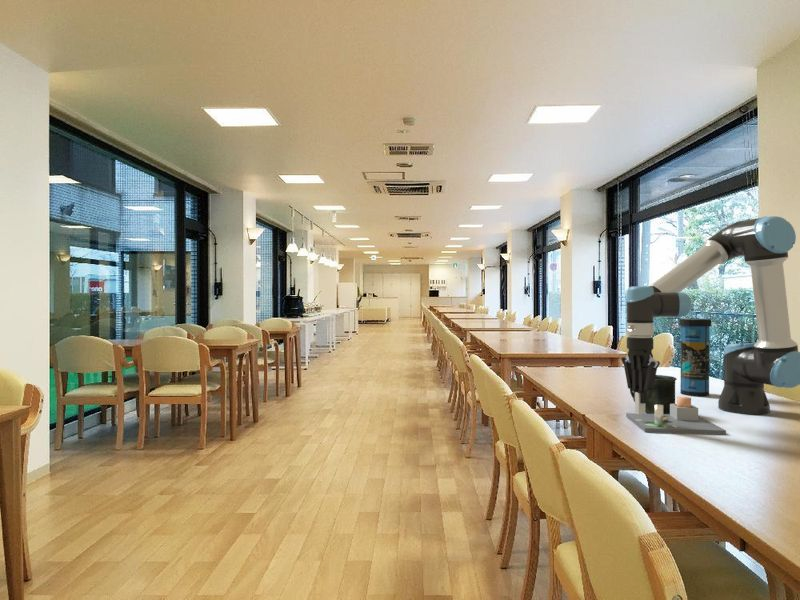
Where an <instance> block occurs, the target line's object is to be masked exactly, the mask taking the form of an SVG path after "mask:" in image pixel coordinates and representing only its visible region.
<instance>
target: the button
mask: <svg viewBox="0 0 800 600" xmlns="http://www.w3.org/2000/svg"><path fill="white" fill-rule="evenodd" d="M676 404H677V407H688V408H691V405H692V397H690V396H689V397H688V396H676Z"/></svg>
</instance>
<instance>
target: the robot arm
mask: <svg viewBox="0 0 800 600" xmlns="http://www.w3.org/2000/svg"><path fill="white" fill-rule="evenodd" d="M796 240H797V235H796V231H795V228H794V227H793V225H792V224H791V223H790V221H788V220H786V218H784V217H781V216H777V215H775V216H773V215H772V216H762V217H758V218H751V219H747V220H745V219H744V220H740V221H735V222H733V223H731V224H729V225H727V226H726V227H724V228H722V229H720V230H719V231H717V233H714V234H713V235H712V236H711V237H709V238H708V239H706V240H705V241H704V242H703V243H702V246H701V248H700V249H698V250H697V251H695V252H694V253H692V254H691V255H689V256H688V257H687V258H686V259H684V260H682V261H681V262H680V263H679V264H678V265H676V266H675V267H674V268H673V267H672V268H671V270H669V271H668V272H666V274H664V275H662V276H661V277H660V278H658V279H657V280H655V282H653V283H652V284H650V285H649V286H647V285H646V286H645V285H643V286H629V287H628V288H627V290H626V299H625V302H626V335H627V337H626V349H628V352H627V355H626V356H624V357H621V362H622V364H623V368H624V373H625V379H626V384H627V389H629V390H630V389H632V390H633V397H632V400H633V402H634V413H636V414H646V413H645V403H647V392H650V391H653V386H654V381H655V376H656V375H657V370H658V367H659V366H660V364H661V362H660V361H659V360H655V359H654V355H653V352H652V351H653V349H654V338H653V337H652V336H654V318H659V317H661V318H664V317H665V318H666V317H667V318H668V317H669V318H671V317H672V318H673V317H676V318H679V317H685V316H688V314H689V313H690V312H691V310H692V299H691V297H690V296H689V295H688V294H687V293H685V292H682V291H684V290H685V289H686V288H688V287H689V286H690V285H692V284H693V283H694V282H697V280H698V279H700V278H701V277H703V276H704V275H705V274H707V273H708V272H709V271H711V270H713V269H714V268H715V267H716V266H718V265H724V264H726V263H727V262H729V261H731V260H732V259H735V258H739V257H743V259H744V263H745V264H747V265H748V266H749V267H750V271H751V280H752V282H751V283H752V290H753V298H754V299H753V300H754V309H755V317H756V326H757V338H758V339H757V341H756V342H752V343H751V342H747V343H745V342H744V343H729V344H727V345H725V347H724V354H723V371H724V372H723V381H724V382H723V384H724V385H723V388H722V391H721V394H720V396H719V399H718V401H717V402H718V405H717V408H718V409H720V410H722V411H726V412H731V413H736V414H737V413H738V414H746V415H765V414H769V413H771V405H770V402H769V400H768V396H767V394H766V391H765V385H769V386H773V387H776V388H785V389H792V388H796V387H798V386H799V385H800V351H799V347H798V342H796V341H795V340H793V339H792V336H791V327H790V317H789V307H788V298H787V290H786V289H787V288H786V280H785V279H786V278H785V270H784V269H785V268H784V262H786V261H787V259H789V252H790V251H791V250H792V249H793V248H794V245H795V244H796V242H797V241H796Z"/></svg>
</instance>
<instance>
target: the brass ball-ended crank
mask: <svg viewBox="0 0 800 600" xmlns="http://www.w3.org/2000/svg"><path fill="white" fill-rule="evenodd" d="M664 421H668V417H667V416H663V405H661V404H655V405H654V425H655V426H663V422H664Z"/></svg>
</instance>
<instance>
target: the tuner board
mask: <svg viewBox="0 0 800 600" xmlns="http://www.w3.org/2000/svg"><path fill="white" fill-rule="evenodd" d="M625 416H626V418H627V419H628V420H629V421H631V422H632V423H633V424H634V425H635V426H637V427H639V429H641V430H642V431H643V432H644V433H656V434H659V433H663V434H687V433H688V435H689V434H690V435H691V434H693V435H694V434H695V435H699V434H700V435H722V436H726V435H727V430H726V429H724V428H723V427H720V426H719V425H716V424H715V423H713V422H711V421H709V420H708V419H706V418H704V417H702V416H700V415H699V407H697V406H695V405H693V404H691V408H688V407H677V403H675V404H670V414H663V416H667V417H668V421H664V422H663V426H655V425H654V414H649V413H645V414H636V413H635V412H626V413H625Z"/></svg>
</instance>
